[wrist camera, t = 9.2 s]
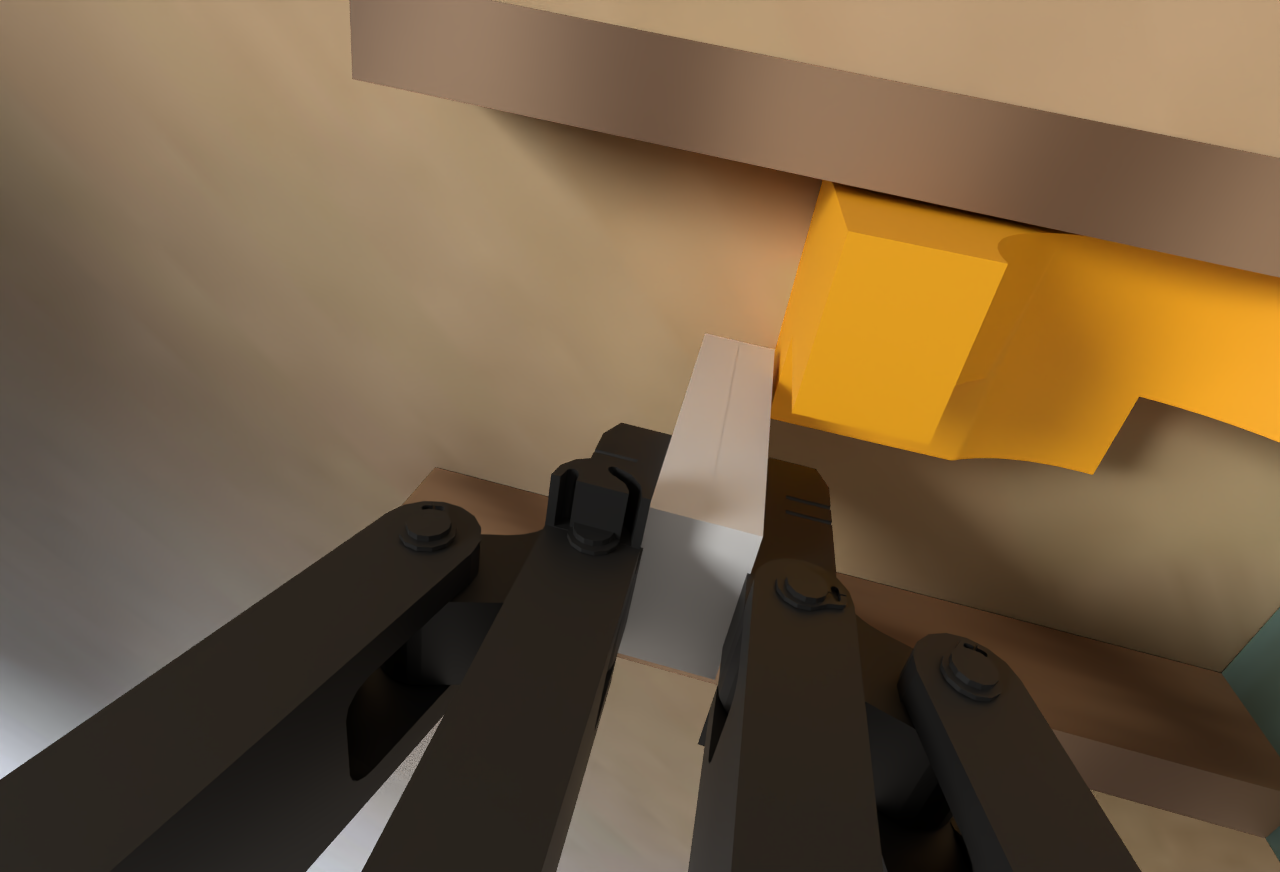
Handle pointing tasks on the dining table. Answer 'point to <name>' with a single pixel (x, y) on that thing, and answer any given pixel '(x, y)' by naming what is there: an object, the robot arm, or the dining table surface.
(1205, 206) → the channel
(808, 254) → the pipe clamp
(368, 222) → the dining table surface
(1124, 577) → the dining table surface
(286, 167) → the dining table surface
